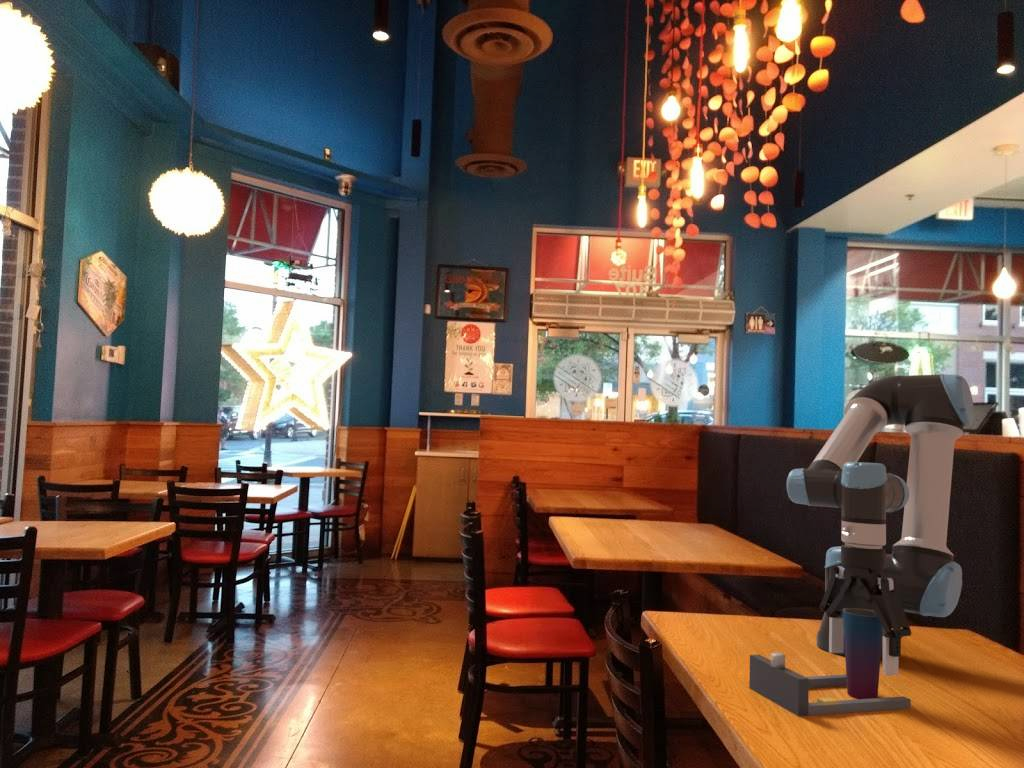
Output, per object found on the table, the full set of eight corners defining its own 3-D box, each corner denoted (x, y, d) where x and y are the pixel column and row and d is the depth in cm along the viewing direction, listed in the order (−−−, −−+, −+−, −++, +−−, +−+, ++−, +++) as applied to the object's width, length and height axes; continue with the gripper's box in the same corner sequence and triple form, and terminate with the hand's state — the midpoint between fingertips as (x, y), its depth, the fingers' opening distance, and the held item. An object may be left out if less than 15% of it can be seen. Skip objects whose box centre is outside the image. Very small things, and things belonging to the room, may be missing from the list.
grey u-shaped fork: (853, 681, 143) (853, 639, 143) (910, 708, 129) (910, 661, 130) (748, 688, 136) (748, 643, 137) (797, 716, 123) (797, 667, 123)
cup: (888, 704, 131) (888, 617, 132) (847, 699, 132) (847, 614, 133) (877, 691, 137) (877, 609, 138) (838, 687, 139) (838, 606, 140)
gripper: (802, 536, 148) (800, 644, 146) (898, 555, 124) (897, 685, 122) (833, 537, 150) (832, 644, 148) (934, 556, 126) (934, 684, 124)
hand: (862, 663), depth 135 cm, fingers open, 13 cm apart
